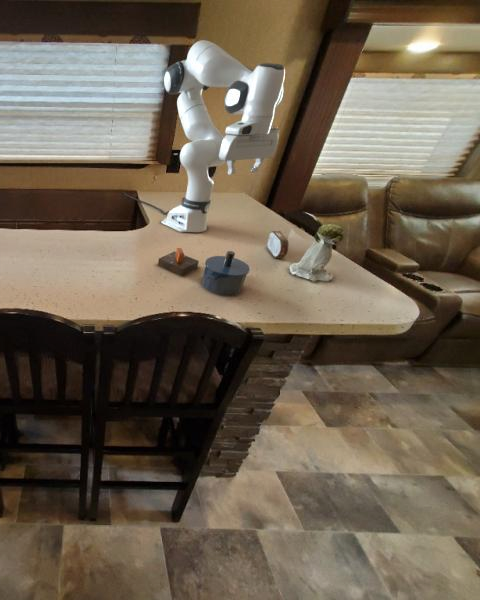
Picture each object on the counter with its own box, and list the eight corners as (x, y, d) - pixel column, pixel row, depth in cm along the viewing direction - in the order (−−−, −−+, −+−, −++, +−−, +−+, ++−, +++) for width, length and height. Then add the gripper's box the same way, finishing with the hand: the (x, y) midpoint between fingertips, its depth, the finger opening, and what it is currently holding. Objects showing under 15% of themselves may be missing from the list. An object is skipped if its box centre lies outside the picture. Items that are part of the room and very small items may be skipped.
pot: (189, 286, 101) (194, 267, 97) (217, 270, 110) (223, 252, 106) (224, 303, 93) (231, 282, 89) (251, 284, 102) (258, 264, 98)
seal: (175, 256, 114) (176, 247, 112) (179, 256, 113) (181, 247, 111) (177, 262, 109) (179, 253, 107) (182, 263, 109) (184, 253, 107)
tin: (283, 262, 115) (292, 242, 110) (275, 261, 116) (283, 241, 111) (271, 246, 127) (278, 227, 123) (263, 245, 128) (270, 227, 123)
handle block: (157, 265, 114) (158, 258, 112) (173, 258, 119) (174, 250, 117) (181, 276, 107) (183, 268, 105) (197, 267, 112) (199, 260, 110)
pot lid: (196, 266, 98) (200, 251, 95) (218, 255, 105) (222, 240, 102) (235, 282, 90) (241, 266, 86) (256, 269, 97) (262, 253, 93)
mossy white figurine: (281, 266, 112) (301, 219, 102) (313, 264, 113) (335, 218, 102) (303, 282, 102) (328, 232, 92) (338, 280, 103) (366, 230, 93)
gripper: (272, 125, 99) (259, 169, 107) (221, 127, 94) (211, 173, 102) (288, 126, 94) (273, 172, 102) (235, 129, 89) (223, 177, 97)
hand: (242, 173), depth 102 cm, fingers open, 8 cm apart
